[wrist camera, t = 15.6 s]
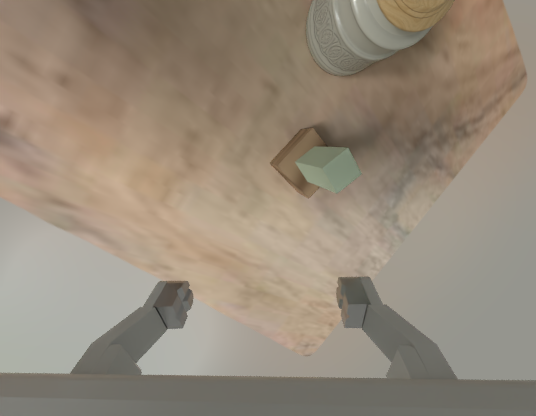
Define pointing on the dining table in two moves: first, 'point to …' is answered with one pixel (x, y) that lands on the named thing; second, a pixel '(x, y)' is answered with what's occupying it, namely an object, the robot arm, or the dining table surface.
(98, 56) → the dining table surface
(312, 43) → the jar
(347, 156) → the green brick
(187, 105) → the dining table surface
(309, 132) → the walnut block
